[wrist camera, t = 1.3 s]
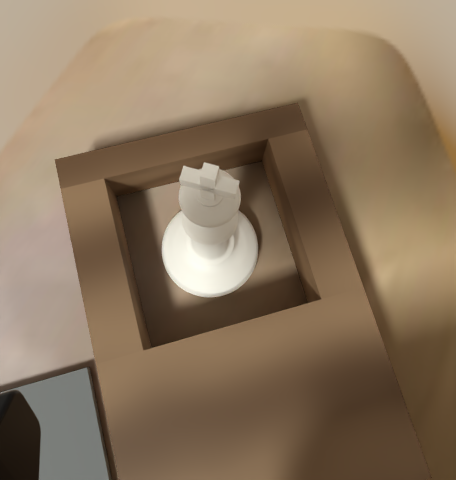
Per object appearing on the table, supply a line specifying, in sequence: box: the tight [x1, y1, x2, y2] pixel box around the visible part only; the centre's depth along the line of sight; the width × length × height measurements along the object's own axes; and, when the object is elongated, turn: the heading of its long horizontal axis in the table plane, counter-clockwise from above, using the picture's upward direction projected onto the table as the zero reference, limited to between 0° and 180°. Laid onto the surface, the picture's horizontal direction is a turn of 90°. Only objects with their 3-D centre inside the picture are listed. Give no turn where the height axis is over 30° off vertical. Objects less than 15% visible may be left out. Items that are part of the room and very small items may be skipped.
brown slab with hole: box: [55, 103, 432, 480], centre depth 19 cm, size 18×12×2 cm
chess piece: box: [162, 162, 258, 297], centre depth 16 cm, size 5×5×10 cm
